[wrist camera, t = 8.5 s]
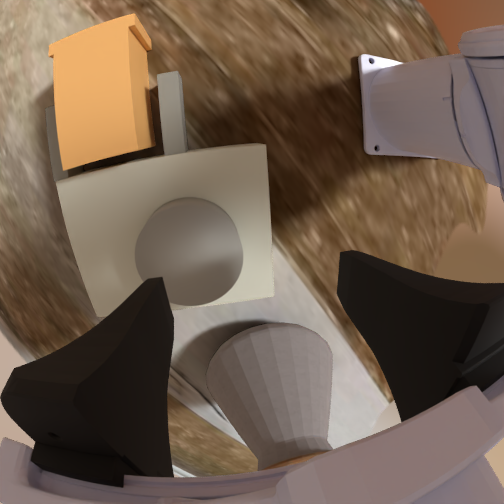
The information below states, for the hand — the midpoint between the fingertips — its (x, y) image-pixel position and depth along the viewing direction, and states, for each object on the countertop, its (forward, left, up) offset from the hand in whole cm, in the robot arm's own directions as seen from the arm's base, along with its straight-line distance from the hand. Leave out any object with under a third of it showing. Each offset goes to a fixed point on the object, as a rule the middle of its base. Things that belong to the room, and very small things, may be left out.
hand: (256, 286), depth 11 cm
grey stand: (+5, -2, -9) cm, 11 cm away
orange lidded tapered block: (+7, -9, -10) cm, 15 cm away
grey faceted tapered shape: (-4, +18, -10) cm, 21 cm away
